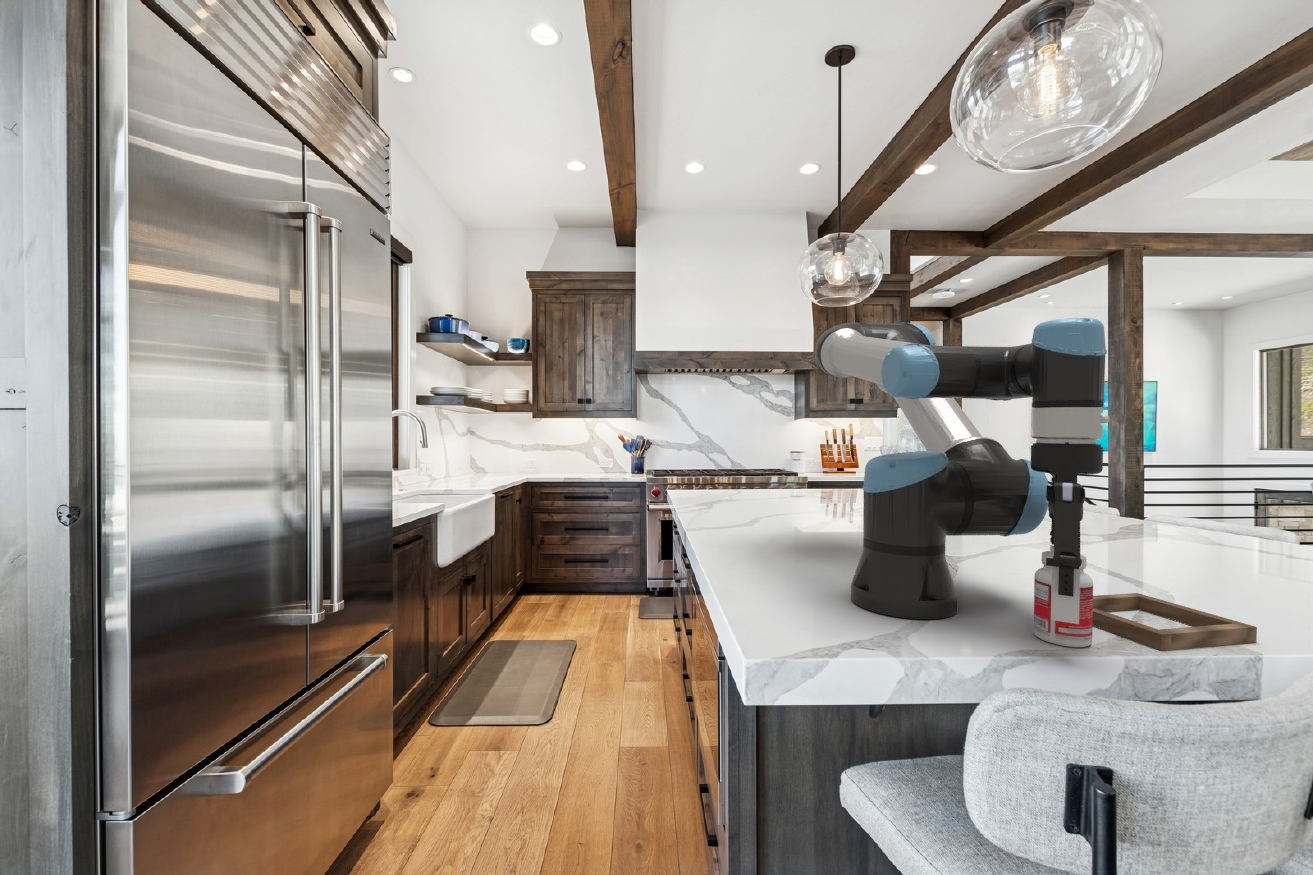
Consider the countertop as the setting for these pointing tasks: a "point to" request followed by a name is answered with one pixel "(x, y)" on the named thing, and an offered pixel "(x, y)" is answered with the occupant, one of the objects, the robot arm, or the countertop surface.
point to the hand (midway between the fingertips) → (1062, 606)
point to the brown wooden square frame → (1202, 634)
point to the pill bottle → (1043, 624)
